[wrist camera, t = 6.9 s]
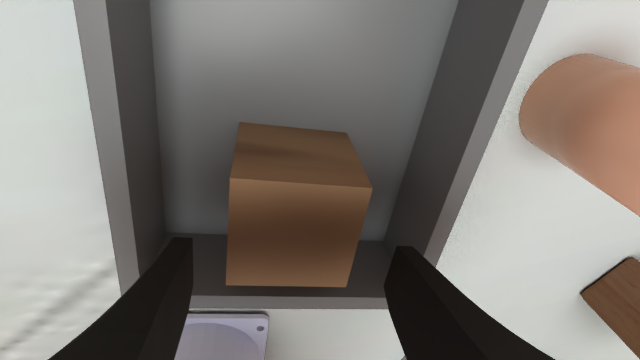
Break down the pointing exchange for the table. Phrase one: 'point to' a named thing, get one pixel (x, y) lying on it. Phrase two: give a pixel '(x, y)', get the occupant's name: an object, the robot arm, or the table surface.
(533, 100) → the terracotta cylinder
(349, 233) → the walnut block
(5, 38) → the table surface
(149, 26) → the tote
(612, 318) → the wooden block
